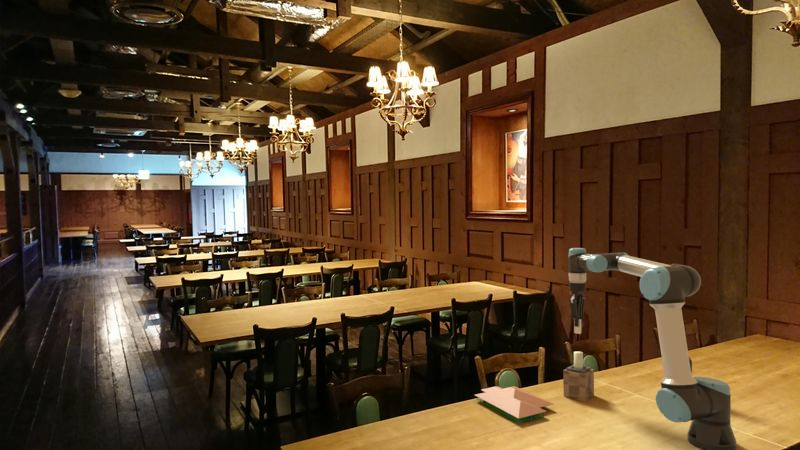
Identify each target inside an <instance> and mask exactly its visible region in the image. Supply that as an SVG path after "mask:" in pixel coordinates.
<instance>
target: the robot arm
mask: <svg viewBox="0 0 800 450" xmlns="http://www.w3.org/2000/svg"><path fill="white" fill-rule="evenodd" d="M567 258H568V274H567V276H568V281H569V282H568V291H571V298H568V301H569V305H570V307H569V308H570V314H571V319H572V320H573V323H574V325H573V333H574V334H579V335H581V334H582V320H584V316H585V315H584V314H585V305H586V303H585V302H586V297H587V296H586V295H585V294H584V292H585V291H587V283H586V282H587V272H593V273H602V272H604V271H605V272H606V271H618V272H621V273H625V274H629V275H633V276H636V277H640V279H639V291H640V292H641V295H643V297H644V298H645V299H646V300H648V304H649V306H650V307H652V308H653V309H654V313H655V318H656V319H655V320H656V326H657V333H658V342H659V347H660V348H659V349H660V353H661V361H662V369H663V377H662V379H661V380H660V385H661V386H660V387H661V388H659V389H658V390H657V392H656V394H655V403H656V405H657V408H658V410H659V412H660V413H661V414H662V415H663V416H664V417H665V418H666V419H667V420H668V421H671V422H673V423H688V422H690V421H691V422H690V426H689V428H688V430H687V441H688V442H689V443H690V444H691V445H693V446H695V447H697V448H700V449H701V450H702V449H703V450H737V439H736V436H735V434H734V431H733V429H732V425H731V414H732V413H731V398H732V394H731V387H730V386H729V384H728V383H726V382H724V381H723V380H719V379H717V378H712V377H706V376H694V377H693V374H692V375H691V368H690V362H689V357H690V356H689V351H688V350H689V349H688V343H687V342H688V341H687V335H686V336H685V333H686V331H685V324H684V323H685V322H684V317H683V311H682V308H683V307H684V305H685V304H686V299H685V298H687V297H691V296H693V295H694V294H696V293H698V291H699V289H700V288H701V286H702V279H701V275H700V274H699V272H698V271H697V270H696V269H695V268H693V267H691V266H689V265H684V264H678V263H672V264H666V263H661V262H657V261H654V260H649V259H644V258H641V257H640V258H639V257H636V256H631V255H629V254H628V253H626V252H621V251H619V252H610V253H609V252H607V253H587V250H586V248H583V247H572V248H569V249H568V257H567Z"/></svg>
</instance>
